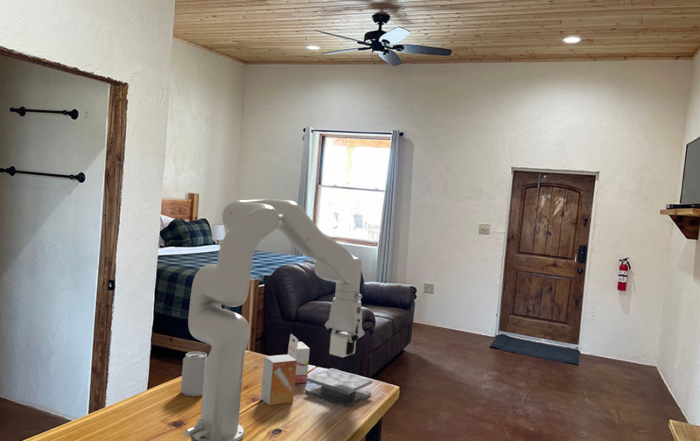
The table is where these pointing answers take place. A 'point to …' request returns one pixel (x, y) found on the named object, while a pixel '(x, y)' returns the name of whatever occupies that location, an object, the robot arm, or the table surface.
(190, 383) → the can
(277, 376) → the small box
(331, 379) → the stand
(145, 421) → the table surface
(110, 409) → the table surface
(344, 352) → the block
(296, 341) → the ink cartridge box
